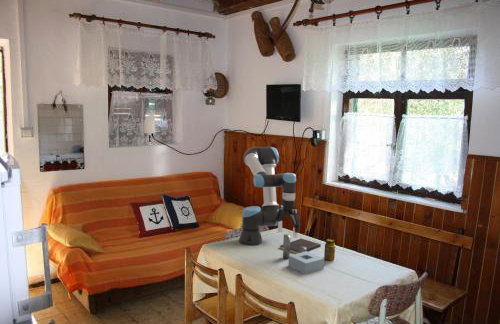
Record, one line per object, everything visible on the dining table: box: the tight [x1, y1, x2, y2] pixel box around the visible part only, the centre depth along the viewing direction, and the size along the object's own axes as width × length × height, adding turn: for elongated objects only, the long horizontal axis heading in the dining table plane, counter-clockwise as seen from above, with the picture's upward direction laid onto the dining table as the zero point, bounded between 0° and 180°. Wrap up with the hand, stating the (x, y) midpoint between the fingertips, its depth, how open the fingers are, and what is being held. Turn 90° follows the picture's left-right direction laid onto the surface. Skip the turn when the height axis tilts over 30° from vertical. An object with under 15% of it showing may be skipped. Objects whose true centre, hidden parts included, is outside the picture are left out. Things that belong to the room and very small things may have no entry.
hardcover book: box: [279, 238, 322, 254], centre depth 265 cm, size 16×23×2 cm
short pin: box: [300, 246, 307, 253], centre depth 247 cm, size 4×4×6 cm
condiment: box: [323, 238, 338, 264], centre depth 244 cm, size 7×8×12 cm
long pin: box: [282, 233, 291, 260], centre depth 244 cm, size 4×4×14 cm
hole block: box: [287, 251, 325, 275], centre depth 231 cm, size 14×14×6 cm
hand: (287, 234), depth 243 cm, fingers open, 13 cm apart
